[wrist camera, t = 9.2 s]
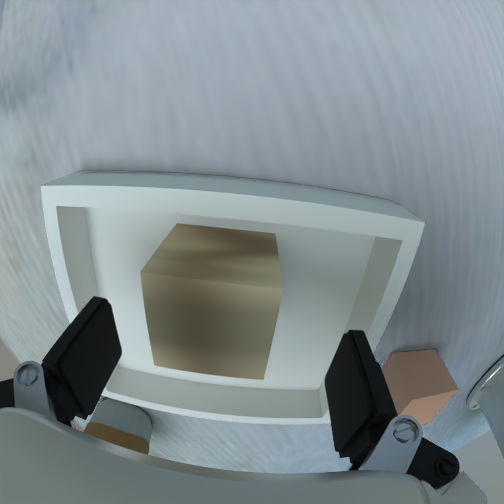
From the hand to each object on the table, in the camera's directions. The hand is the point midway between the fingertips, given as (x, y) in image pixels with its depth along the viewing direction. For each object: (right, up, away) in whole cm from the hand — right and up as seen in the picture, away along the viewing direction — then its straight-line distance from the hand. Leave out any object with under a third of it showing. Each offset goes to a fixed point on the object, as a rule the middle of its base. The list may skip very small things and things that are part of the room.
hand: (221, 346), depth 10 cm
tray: (-1, 0, +7) cm, 7 cm away
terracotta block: (+14, -7, +10) cm, 19 cm away
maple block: (0, +3, +5) cm, 5 cm away
